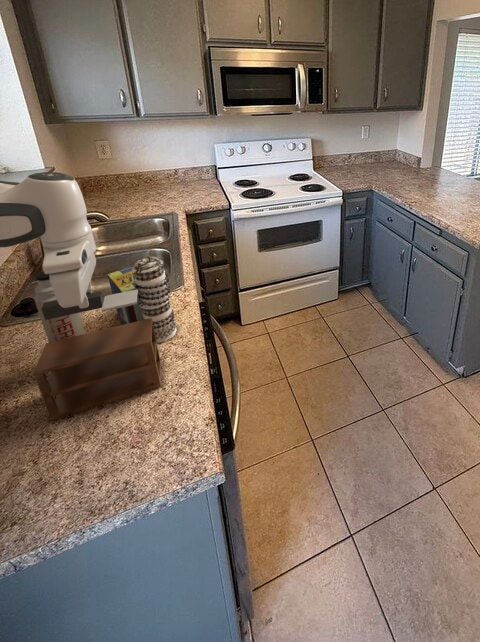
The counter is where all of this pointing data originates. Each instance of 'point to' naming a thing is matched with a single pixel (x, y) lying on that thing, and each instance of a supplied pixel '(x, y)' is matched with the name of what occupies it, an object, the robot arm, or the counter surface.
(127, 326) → the box
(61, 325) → the thermos bottle
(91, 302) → the spatula
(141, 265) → the decorative candle
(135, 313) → the protein box
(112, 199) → the counter surface
